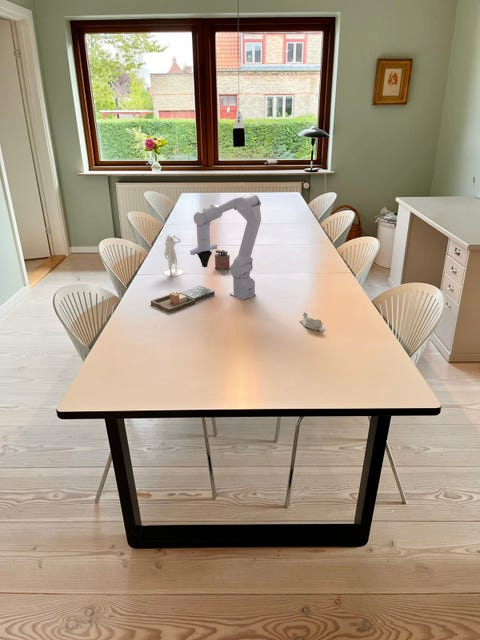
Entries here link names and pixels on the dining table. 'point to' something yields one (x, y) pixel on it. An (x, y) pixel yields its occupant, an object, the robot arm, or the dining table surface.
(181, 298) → the tile
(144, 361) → the dining table surface
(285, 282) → the dining table surface
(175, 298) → the tile
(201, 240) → the robot arm
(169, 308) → the box
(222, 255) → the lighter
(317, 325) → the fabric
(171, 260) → the female figurine
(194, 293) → the slate plate
